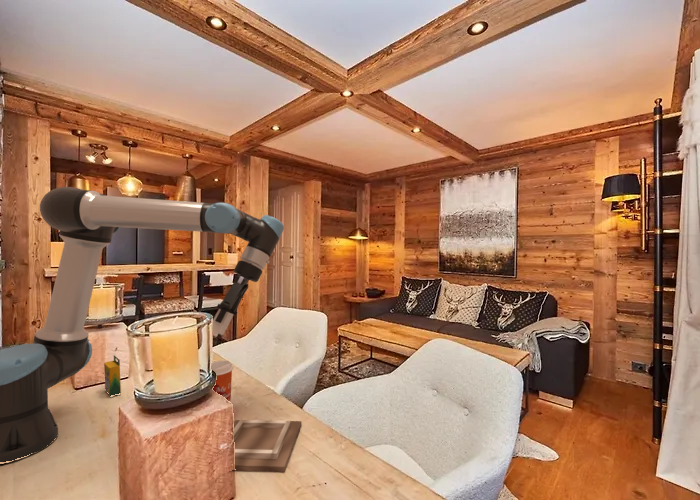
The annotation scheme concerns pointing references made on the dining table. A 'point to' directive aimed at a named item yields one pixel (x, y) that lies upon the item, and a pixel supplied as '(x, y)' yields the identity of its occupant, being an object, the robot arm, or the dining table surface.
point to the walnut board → (264, 444)
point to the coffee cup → (223, 378)
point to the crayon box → (112, 376)
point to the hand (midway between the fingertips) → (215, 334)
